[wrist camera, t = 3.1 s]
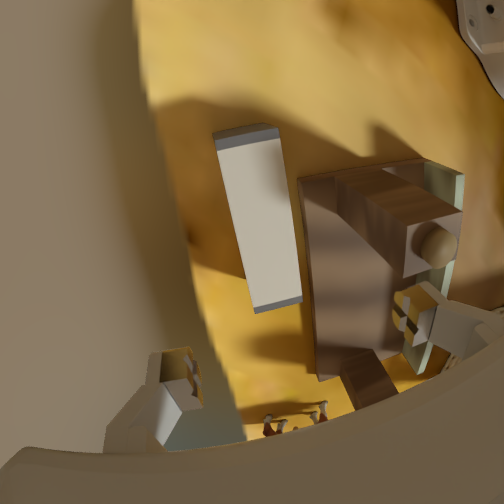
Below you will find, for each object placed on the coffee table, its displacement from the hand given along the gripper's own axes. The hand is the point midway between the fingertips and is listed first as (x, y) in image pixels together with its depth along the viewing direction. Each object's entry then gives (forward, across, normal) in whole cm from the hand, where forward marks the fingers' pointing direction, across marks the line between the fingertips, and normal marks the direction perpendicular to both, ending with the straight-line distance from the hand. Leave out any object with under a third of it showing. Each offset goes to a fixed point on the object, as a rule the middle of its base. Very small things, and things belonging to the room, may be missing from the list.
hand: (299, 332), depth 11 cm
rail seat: (+13, -10, +9) cm, 19 cm away
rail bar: (+13, 0, -1) cm, 13 cm away
